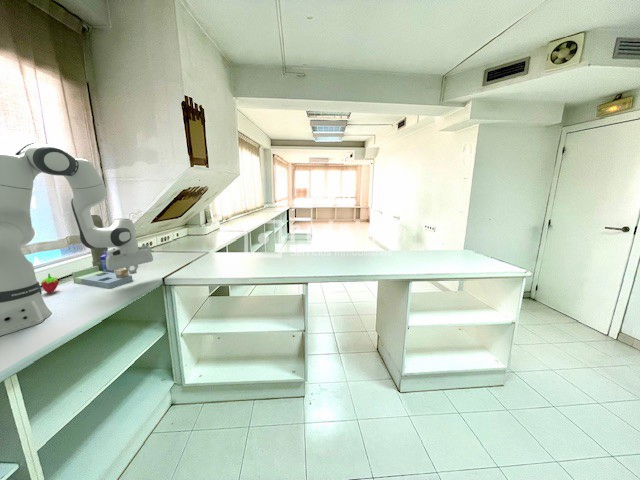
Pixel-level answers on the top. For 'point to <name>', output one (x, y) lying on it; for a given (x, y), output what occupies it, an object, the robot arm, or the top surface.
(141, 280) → the top surface
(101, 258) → the ink cartridge box
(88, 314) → the top surface
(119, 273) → the beech block
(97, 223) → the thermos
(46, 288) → the strawberry
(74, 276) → the trap board
